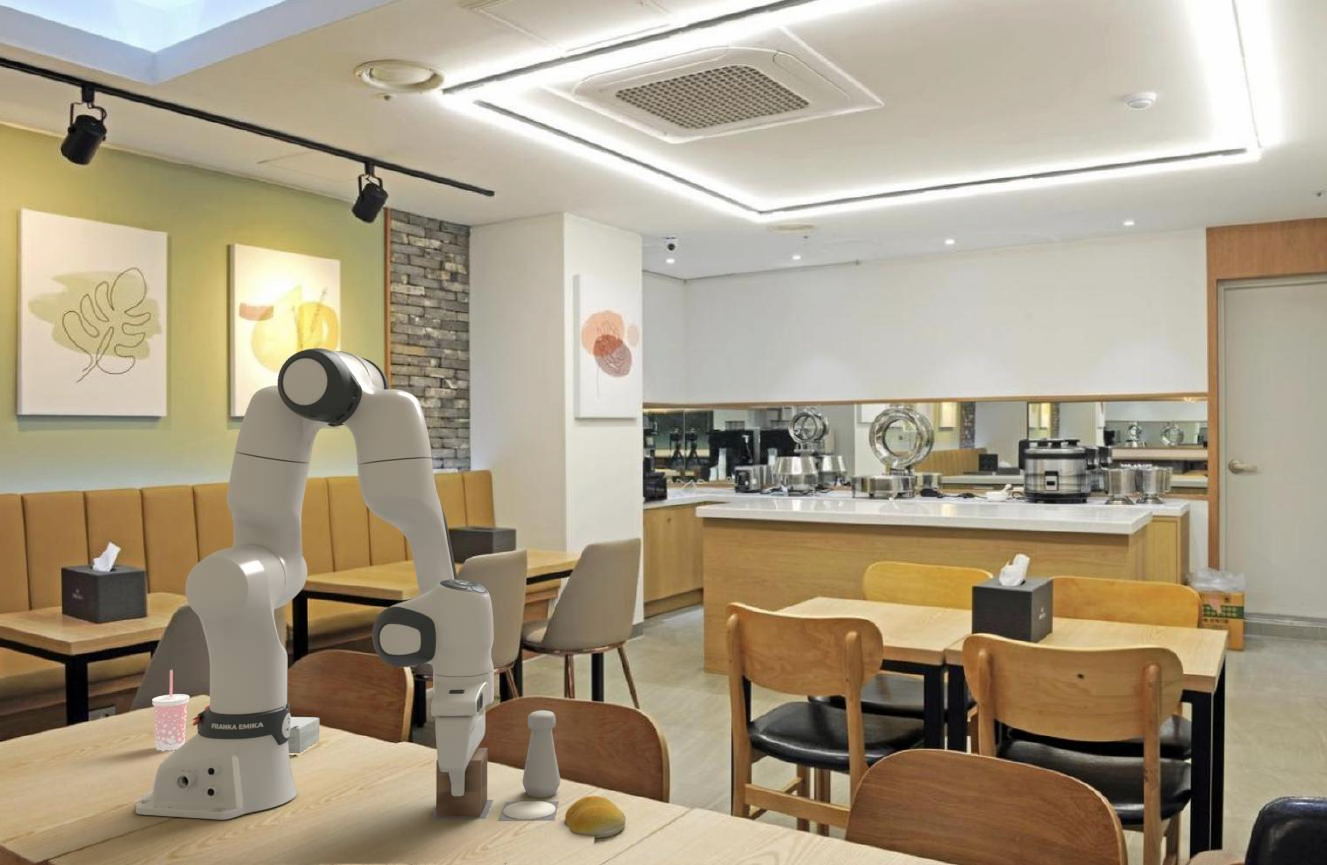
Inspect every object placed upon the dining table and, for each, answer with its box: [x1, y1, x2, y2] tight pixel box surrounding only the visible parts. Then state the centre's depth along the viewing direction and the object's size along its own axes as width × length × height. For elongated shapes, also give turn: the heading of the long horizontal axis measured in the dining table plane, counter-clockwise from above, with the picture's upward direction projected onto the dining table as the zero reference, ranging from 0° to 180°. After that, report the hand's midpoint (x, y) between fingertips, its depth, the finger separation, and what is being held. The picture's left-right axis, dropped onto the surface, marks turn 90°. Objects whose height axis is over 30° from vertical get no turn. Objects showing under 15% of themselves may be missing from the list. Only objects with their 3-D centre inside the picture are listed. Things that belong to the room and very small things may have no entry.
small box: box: [288, 716, 320, 753], centre depth 183 cm, size 8×8×5 cm
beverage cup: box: [151, 669, 191, 752], centre depth 185 cm, size 6×6×14 cm
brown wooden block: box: [435, 747, 488, 817], centre depth 150 cm, size 6×6×8 cm
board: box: [429, 799, 494, 820], centre depth 150 cm, size 8×8×6 cm
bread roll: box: [564, 795, 626, 839], centre depth 144 cm, size 8×9×4 cm
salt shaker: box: [522, 710, 561, 799], centre depth 157 cm, size 6×6×13 cm
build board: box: [498, 800, 560, 822], centre depth 149 cm, size 8×8×1 cm
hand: (463, 784), depth 150 cm, fingers open, 7 cm apart
